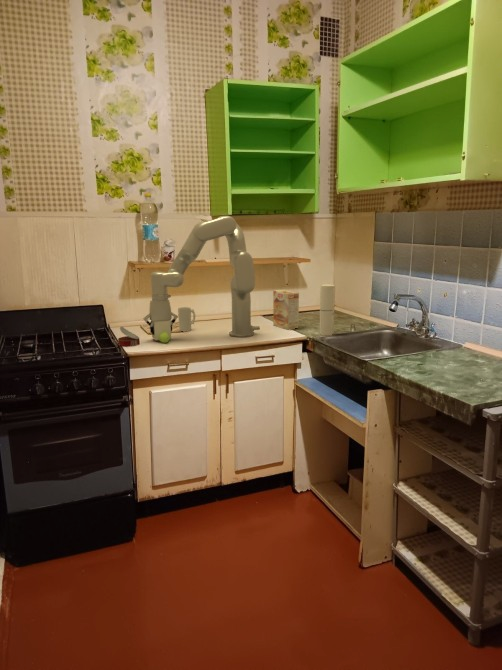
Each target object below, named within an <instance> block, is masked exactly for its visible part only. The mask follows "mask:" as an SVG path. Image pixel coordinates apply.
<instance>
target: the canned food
mask: <svg viewBox="0 0 502 670" xmlns="http://www.w3.org/2000/svg"><path fill="white" fill-rule="evenodd" d="M119 330H120V332H121V333H122V334H123V335H125V336H122V337H121V336H120V337H118V339H117V340H118V341H117V342H118V343H119V344H120V345H121V346H120V347H127V348H128V347H130V348H131V347H136V346H139V345H140V344H141V343H140V342H141V340H140V337H139V336H138V335H137V334H135V333H133V332H131V331H130V330H128V329H126V328H125V327H124V326H120V327H119Z"/></svg>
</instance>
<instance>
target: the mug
mask: <svg viewBox="0 0 502 670" xmlns="http://www.w3.org/2000/svg"><path fill="white" fill-rule="evenodd" d="M177 313H178V315H177V316H178V317H177V319H178V330H181V331H183V333H186V332H191V331H192V325H195V321H196V313H195V309H194V308H191V307H190V306H185V307H184V306H183V307H178V308H177ZM192 314H193V318H192ZM181 331H180V332H181Z"/></svg>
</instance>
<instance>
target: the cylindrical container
mask: <svg viewBox="0 0 502 670" xmlns="http://www.w3.org/2000/svg"><path fill="white" fill-rule="evenodd" d="M319 288H320V291H319V292H320V293H319V294H320V295H319V297H320V298H319V301H320V302H319V331H318V332H319V335H320V334H321V335H320V336H325V335H330V336H333V335H334V330H335V328H334V327H335V298H336V295H335V294H336V293H335V292H336V285H335V284H329V283H327V284H326V283H325V284H320V287H319ZM332 334H333V335H332Z"/></svg>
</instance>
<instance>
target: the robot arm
mask: <svg viewBox="0 0 502 670" xmlns="http://www.w3.org/2000/svg"><path fill="white" fill-rule="evenodd" d="M222 237H225V238H226V242H227V246H228V255H229V263H230V266H231V268H233V269H234V274H233V275H232V277H231V278H230V294H231V330H230V331H229V333H228V335H229V336H231V337H235V338H247V337H252V336H253V335H255V333H254V331H259V330H260V329H261V327H260V326H259V325H258V326H257V325H252V323H251V322H252V321H251V320H252V316H251V315H252V309H251V308H252V307H251V306H252V305H251V302H252V301H251V300H252V299H251V293H252V292H253V290H254V289H255V286H256V275H255V274H256V273H255V264H254V260H253V257H252V255H251V254H250V253H249V252H247V247H246V239H245V234H244V232H243V229H242V228H241V226H240V225H239V224H238V223H237V222H236V220H235V218H234V217H232V216H230V215H220V216H218V217H217V218H215V219H212V220H209V221H204V222H198V223H196V224H195V225H194V226H193V228H192V229H191V232H190V233H189V235H188V236H187V239H186V241H185V242H184V244H183V245H182V247H181V249H180V250H179V252H178V253H177V255H176V257H175V258H174V260H173V261H172V263H171V264H170V266H169V269H168V270H167V272H165V271H153V272H151V273H150V288H151V289H150V290H151V291H150V292H151V300H150V301H149V308H148V309H149V312H148V314H147V315H145V316H144V317H143V321H144V322H145V323H146V324H147V325H148V326H149V331H150V333H151V336H152V335H154V327H153V325H154V322H155V321H167V320H170V323H171V332H173V326H174V323H175V322H176V320H178V315H177V314H175V313H174V312H172V308H171V303H170V299H169V298H171V295H172V294H168V288H179V287H181V286H182V285H183V284H184V281H185V280H184V276H183V275H184V274H185V272H186V270H187V269H188V268H189V266H190V265H191V264H192V263H193V262H194V261H196V259H198V257H199V255H200V253H201V251H202V250H203V249H204V246H205V244H206V243H207V242H208V241H212V240H215V239H219V238H222ZM172 317H173V318H172ZM148 319H149V320H150V321H149V320H148Z"/></svg>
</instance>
